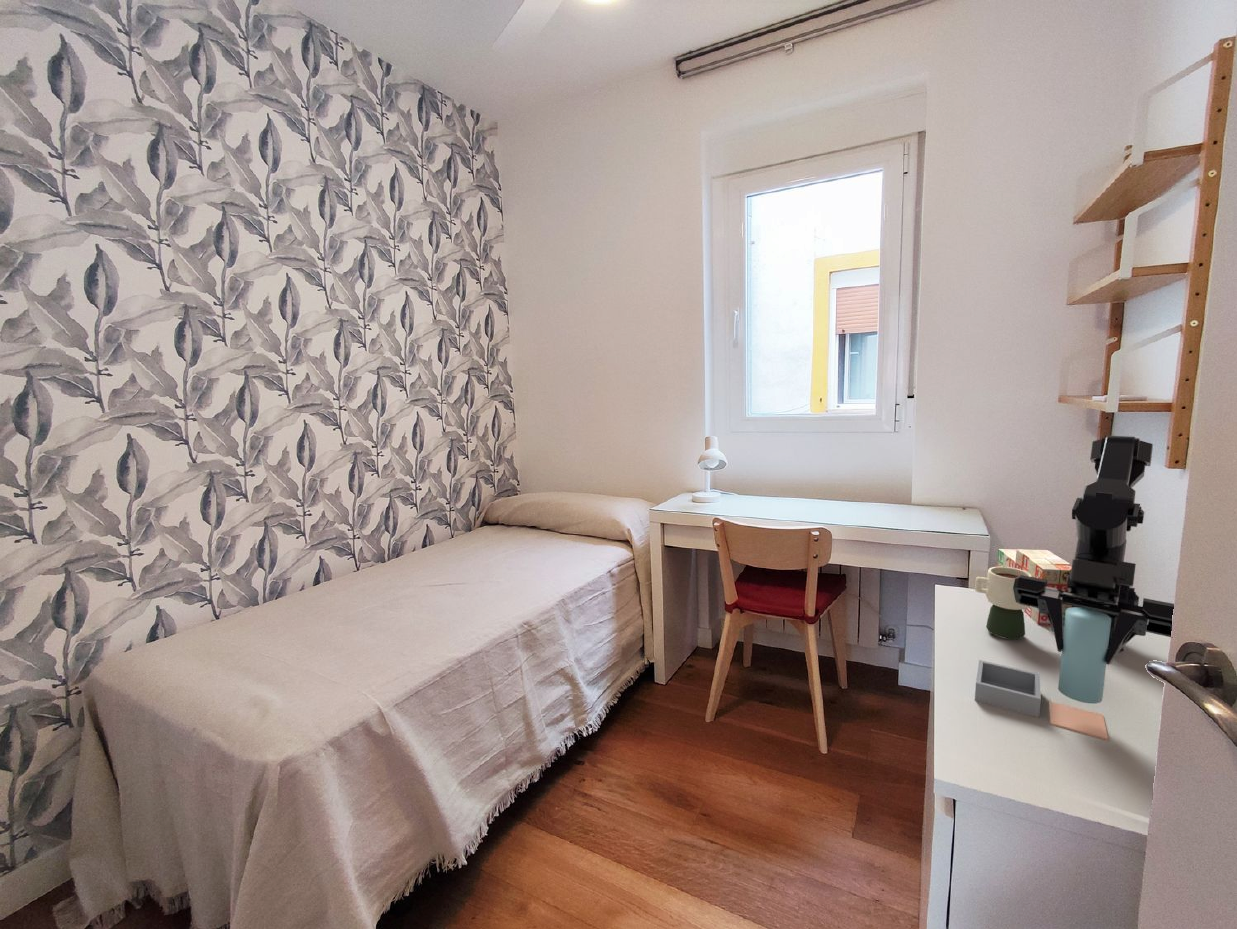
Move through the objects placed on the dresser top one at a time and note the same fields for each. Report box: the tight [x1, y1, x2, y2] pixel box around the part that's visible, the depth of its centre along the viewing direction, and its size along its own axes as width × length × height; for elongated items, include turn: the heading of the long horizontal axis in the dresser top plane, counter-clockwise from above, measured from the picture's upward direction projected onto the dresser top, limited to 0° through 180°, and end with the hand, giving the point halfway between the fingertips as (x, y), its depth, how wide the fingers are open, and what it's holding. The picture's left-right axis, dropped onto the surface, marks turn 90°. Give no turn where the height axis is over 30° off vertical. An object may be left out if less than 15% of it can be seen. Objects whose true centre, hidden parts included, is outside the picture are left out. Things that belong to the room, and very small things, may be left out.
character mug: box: [974, 566, 1032, 640], centre depth 106 cm, size 11×7×13 cm, turn 56°
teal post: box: [1057, 607, 1111, 705], centre depth 79 cm, size 5×5×12 cm
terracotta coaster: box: [1048, 700, 1109, 741], centre depth 81 cm, size 6×6×1 cm
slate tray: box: [974, 659, 1042, 718], centre depth 87 cm, size 8×8×3 cm
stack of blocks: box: [997, 548, 1072, 627], centre depth 119 cm, size 21×6×12 cm, turn 165°
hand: (1082, 656), depth 78 cm, fingers closed on teal post, 5 cm apart
